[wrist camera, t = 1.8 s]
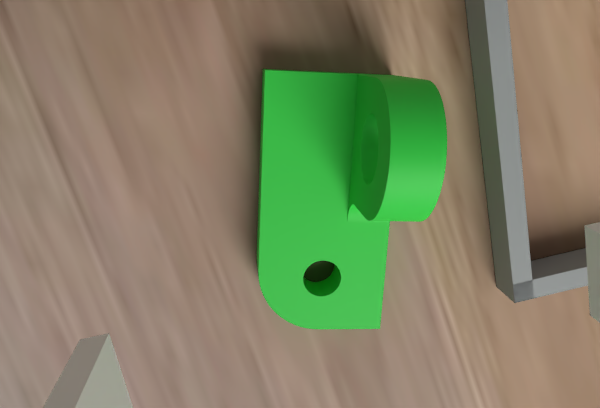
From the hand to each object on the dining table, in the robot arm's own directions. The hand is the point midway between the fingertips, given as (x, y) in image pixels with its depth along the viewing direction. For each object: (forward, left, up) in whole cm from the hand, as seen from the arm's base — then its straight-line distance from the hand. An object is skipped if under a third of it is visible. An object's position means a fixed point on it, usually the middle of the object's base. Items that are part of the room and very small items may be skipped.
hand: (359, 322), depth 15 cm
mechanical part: (+1, 0, -13) cm, 13 cm away
